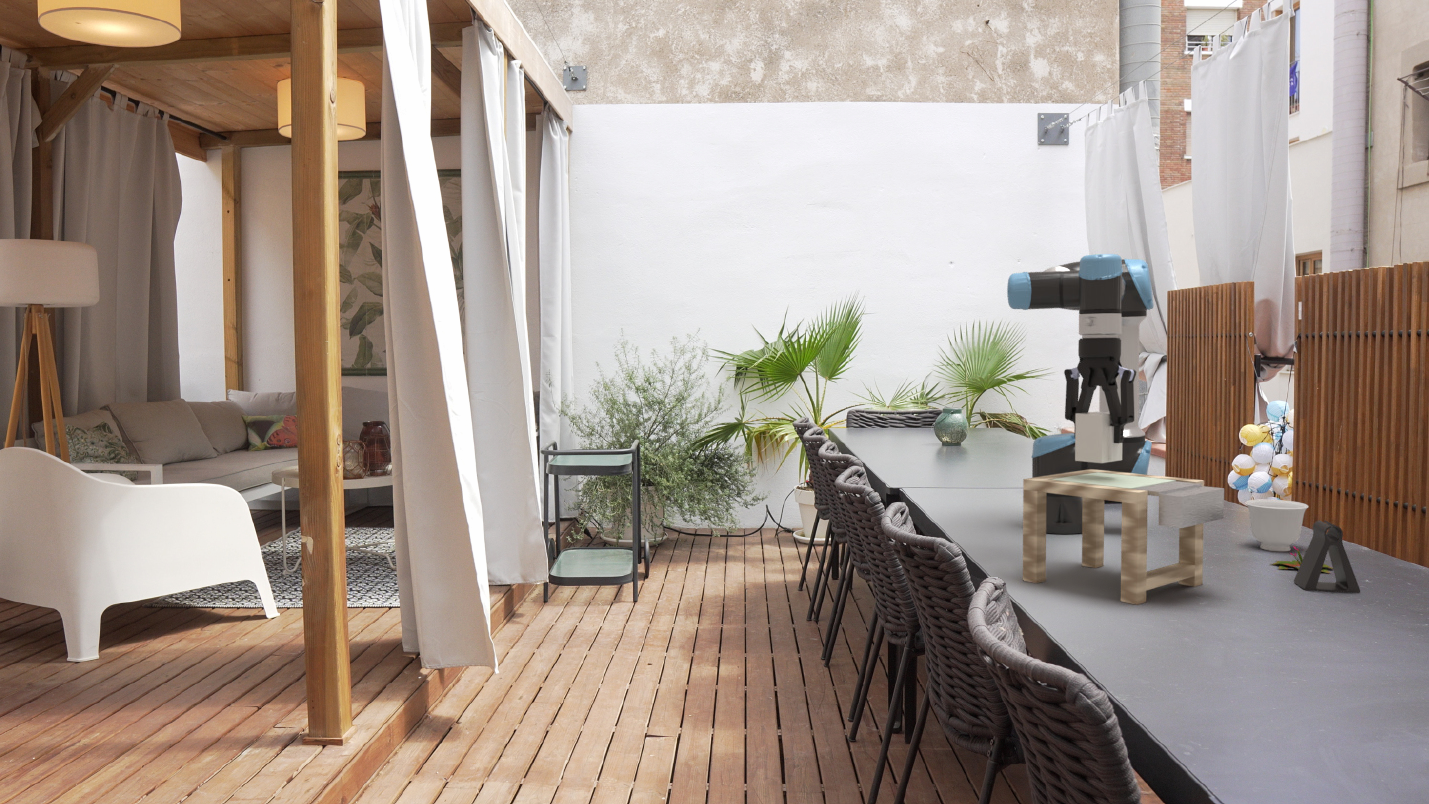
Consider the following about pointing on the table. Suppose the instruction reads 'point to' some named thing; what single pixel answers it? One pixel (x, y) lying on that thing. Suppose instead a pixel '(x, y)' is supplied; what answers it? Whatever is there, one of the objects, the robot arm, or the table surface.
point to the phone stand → (1316, 557)
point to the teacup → (1276, 522)
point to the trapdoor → (1167, 497)
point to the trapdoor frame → (1133, 534)
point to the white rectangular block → (1093, 437)
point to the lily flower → (1297, 562)
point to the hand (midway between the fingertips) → (1098, 458)
